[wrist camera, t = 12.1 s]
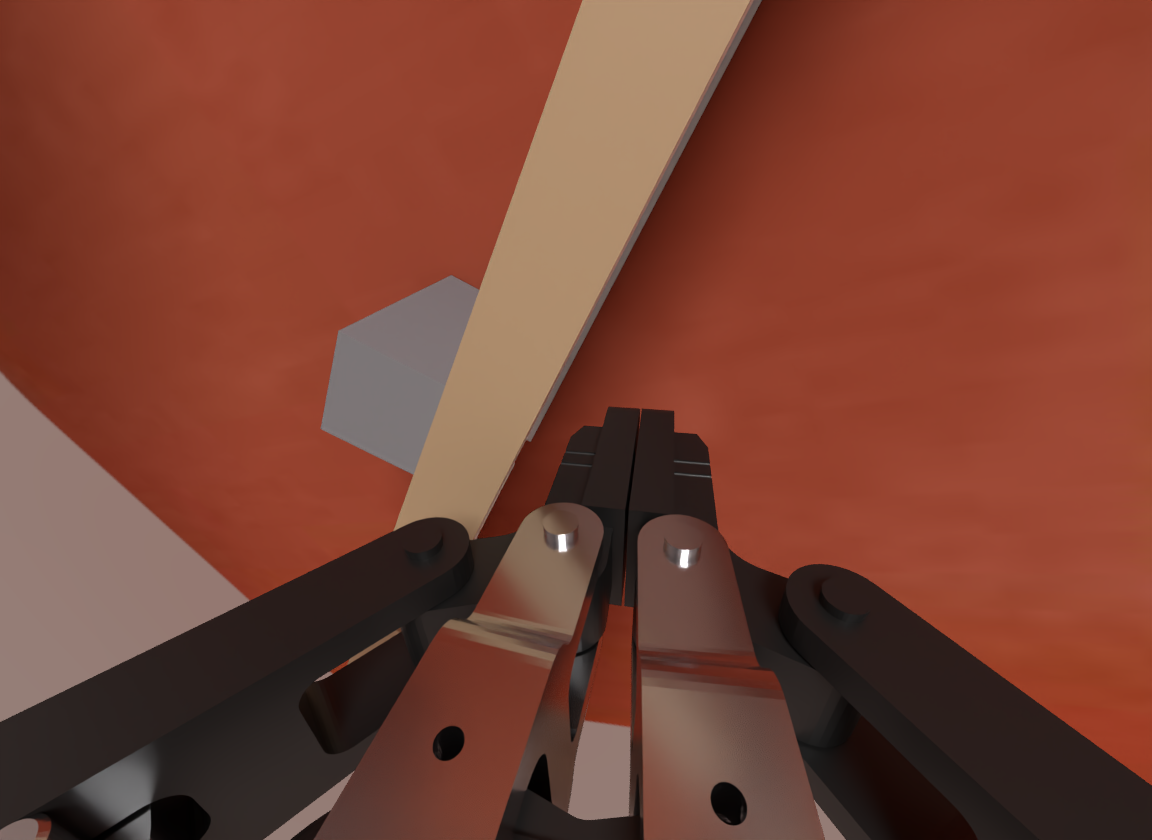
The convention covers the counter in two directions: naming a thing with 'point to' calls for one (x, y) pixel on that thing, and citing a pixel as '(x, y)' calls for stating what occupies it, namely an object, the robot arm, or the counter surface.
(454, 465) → the white flat block
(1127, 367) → the counter surface
